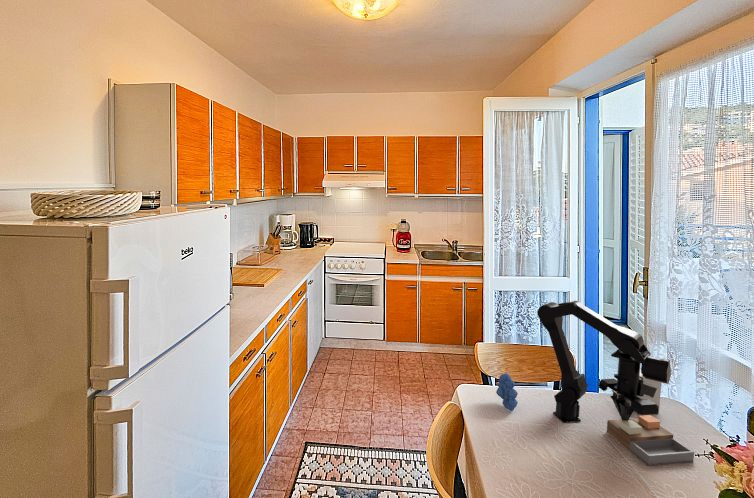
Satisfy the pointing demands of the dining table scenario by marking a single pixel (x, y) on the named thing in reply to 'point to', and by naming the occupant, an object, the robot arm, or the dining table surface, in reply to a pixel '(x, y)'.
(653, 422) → the terracotta tile
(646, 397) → the supplement box
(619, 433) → the walnut board
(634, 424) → the sage tile
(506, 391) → the grapes
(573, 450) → the dining table surface
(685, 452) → the tray
